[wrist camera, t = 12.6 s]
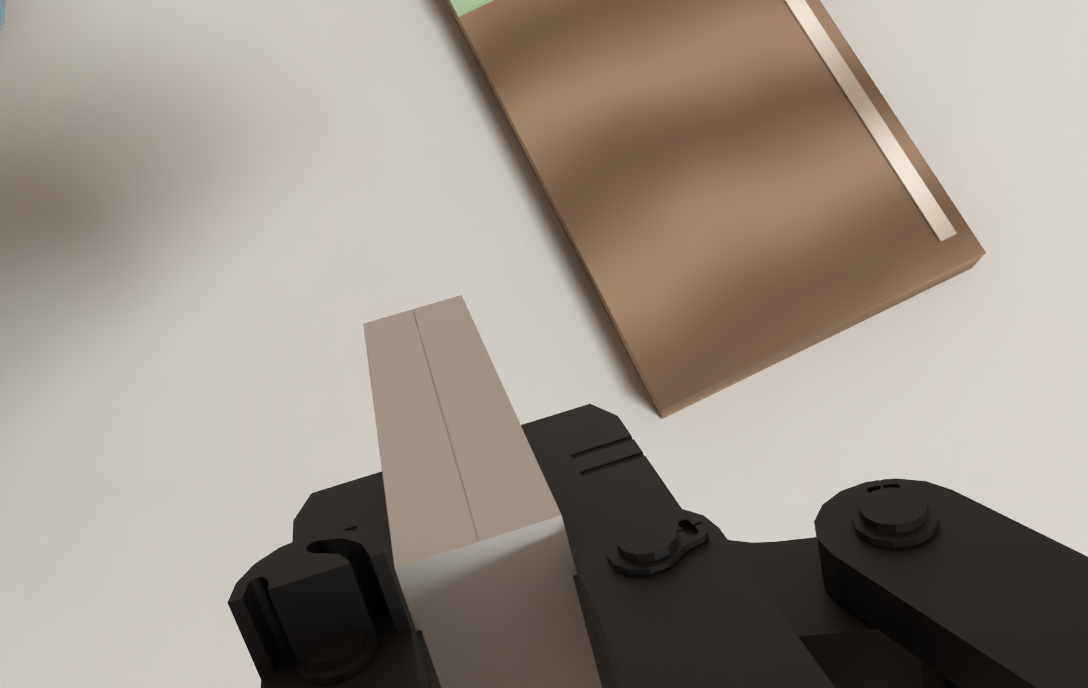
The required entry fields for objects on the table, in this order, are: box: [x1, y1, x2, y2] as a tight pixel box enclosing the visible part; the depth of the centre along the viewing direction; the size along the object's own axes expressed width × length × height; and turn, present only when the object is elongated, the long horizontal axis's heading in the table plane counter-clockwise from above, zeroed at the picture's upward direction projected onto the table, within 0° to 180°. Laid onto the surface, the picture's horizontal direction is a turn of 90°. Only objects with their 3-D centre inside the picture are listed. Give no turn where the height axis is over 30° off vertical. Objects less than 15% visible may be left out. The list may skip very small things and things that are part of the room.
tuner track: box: [446, 0, 986, 419], centre depth 37 cm, size 28×12×2 cm, turn 25°
